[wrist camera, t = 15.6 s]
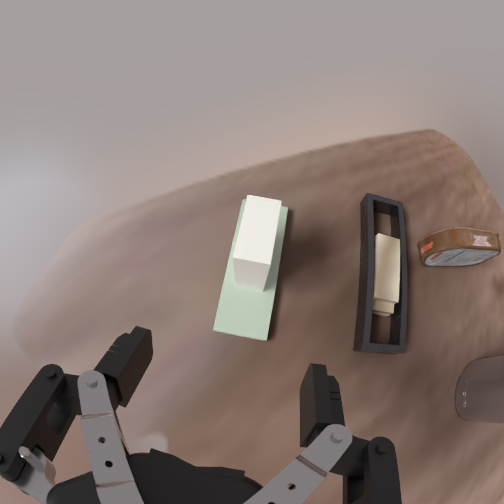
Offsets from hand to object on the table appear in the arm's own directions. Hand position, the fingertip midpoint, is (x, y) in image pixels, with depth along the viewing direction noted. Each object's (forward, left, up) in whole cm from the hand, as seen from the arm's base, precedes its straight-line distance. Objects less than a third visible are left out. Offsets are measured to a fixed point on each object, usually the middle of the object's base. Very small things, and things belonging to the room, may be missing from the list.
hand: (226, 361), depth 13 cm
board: (0, -11, -16) cm, 19 cm away
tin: (-27, -17, -16) cm, 36 cm away
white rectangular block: (0, -11, -15) cm, 18 cm away
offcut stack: (-15, -12, -16) cm, 26 cm away
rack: (-15, -13, -16) cm, 26 cm away
